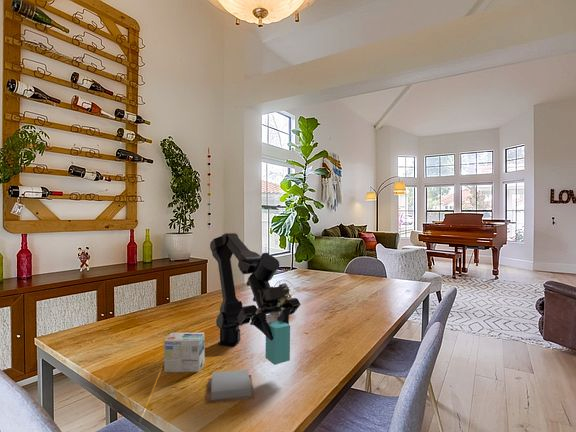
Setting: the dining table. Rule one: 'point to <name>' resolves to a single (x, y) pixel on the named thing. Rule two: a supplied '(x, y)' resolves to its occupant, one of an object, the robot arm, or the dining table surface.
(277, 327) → the teal block
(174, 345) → the light bulb box
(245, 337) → the dining table surface
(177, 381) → the dining table surface
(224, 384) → the grey slab
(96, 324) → the dining table surface
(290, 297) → the olive mug
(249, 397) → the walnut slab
